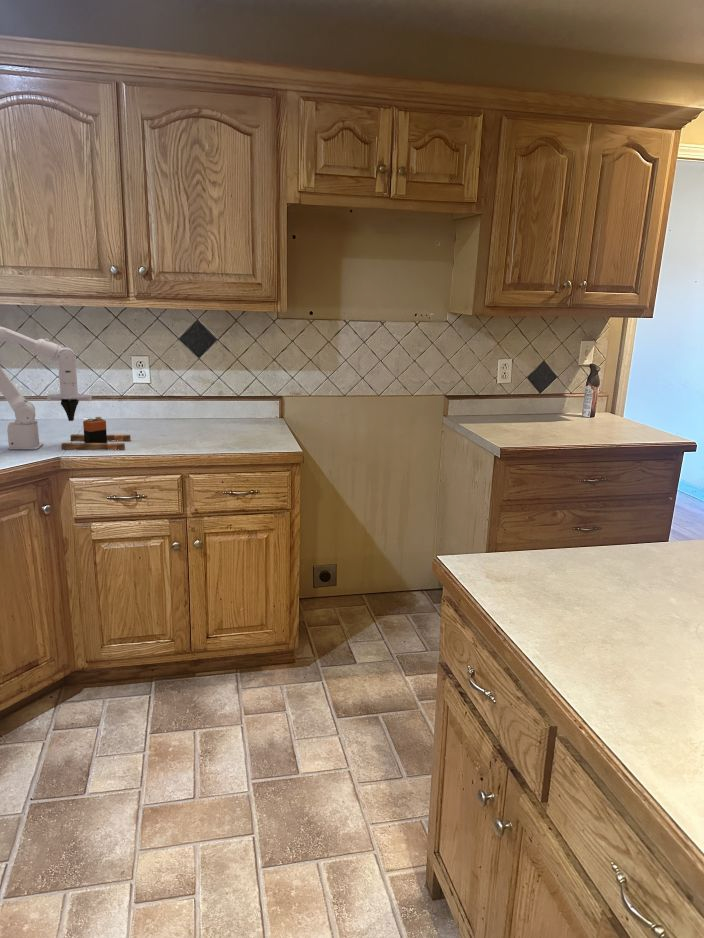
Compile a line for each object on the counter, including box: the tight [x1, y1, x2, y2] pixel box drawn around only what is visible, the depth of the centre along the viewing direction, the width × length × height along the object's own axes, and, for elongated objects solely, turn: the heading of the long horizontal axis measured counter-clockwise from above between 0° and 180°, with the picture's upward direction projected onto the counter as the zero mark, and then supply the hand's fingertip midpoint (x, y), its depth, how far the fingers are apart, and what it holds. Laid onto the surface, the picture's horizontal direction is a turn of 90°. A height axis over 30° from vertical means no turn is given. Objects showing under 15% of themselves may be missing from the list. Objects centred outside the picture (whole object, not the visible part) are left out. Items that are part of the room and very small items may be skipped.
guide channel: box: [61, 433, 131, 451], centre depth 246 cm, size 21×15×2 cm
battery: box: [82, 416, 108, 443], centre depth 245 cm, size 4×7×10 cm, turn 142°
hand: (71, 420), depth 243 cm, fingers closed
